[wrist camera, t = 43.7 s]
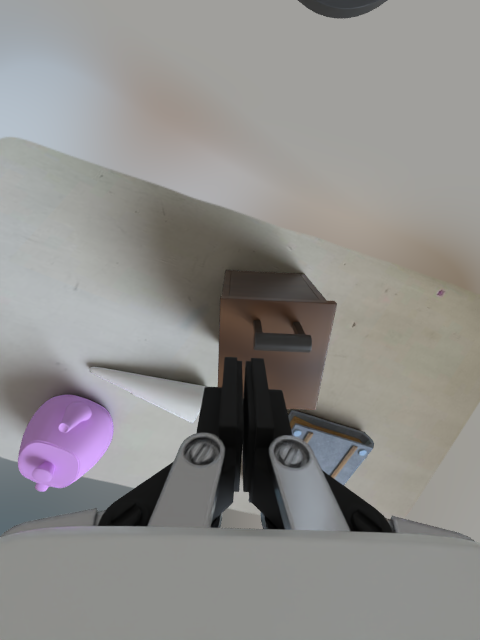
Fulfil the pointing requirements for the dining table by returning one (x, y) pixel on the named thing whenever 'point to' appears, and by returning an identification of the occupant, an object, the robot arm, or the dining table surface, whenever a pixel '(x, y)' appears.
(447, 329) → the dining table surface
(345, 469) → the book
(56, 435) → the teapot
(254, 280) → the chest
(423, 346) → the dining table surface
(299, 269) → the dining table surface
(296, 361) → the lid
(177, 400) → the long cone
